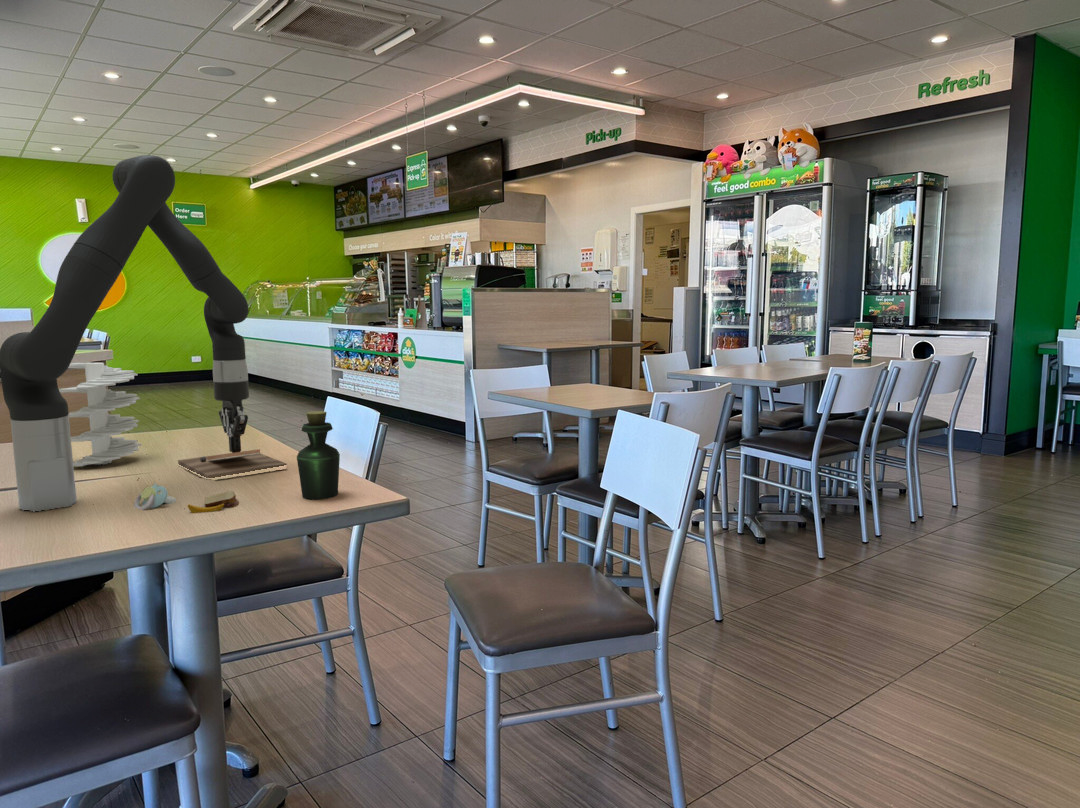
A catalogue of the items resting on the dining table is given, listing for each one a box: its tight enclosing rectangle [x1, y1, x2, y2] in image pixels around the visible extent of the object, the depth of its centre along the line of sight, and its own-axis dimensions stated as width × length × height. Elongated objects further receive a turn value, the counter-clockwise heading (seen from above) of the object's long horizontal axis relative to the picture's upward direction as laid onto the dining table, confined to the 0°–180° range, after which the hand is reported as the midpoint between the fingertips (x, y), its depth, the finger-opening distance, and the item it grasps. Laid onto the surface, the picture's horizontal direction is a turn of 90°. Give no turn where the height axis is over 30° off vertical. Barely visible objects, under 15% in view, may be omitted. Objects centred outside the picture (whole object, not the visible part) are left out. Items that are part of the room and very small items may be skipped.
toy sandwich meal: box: [184, 490, 240, 514], centre depth 139 cm, size 9×10×4 cm
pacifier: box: [133, 483, 177, 511], centre depth 141 cm, size 7×6×6 cm
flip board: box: [177, 450, 288, 478], centre depth 177 cm, size 22×18×3 cm
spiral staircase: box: [58, 362, 142, 467], centre depth 182 cm, size 18×18×25 cm
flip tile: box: [207, 449, 261, 461], centre depth 176 cm, size 13×8×1 cm, turn 42°
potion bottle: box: [296, 410, 341, 501], centre depth 145 cm, size 8×8×18 cm
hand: (235, 451), depth 174 cm, fingers closed
